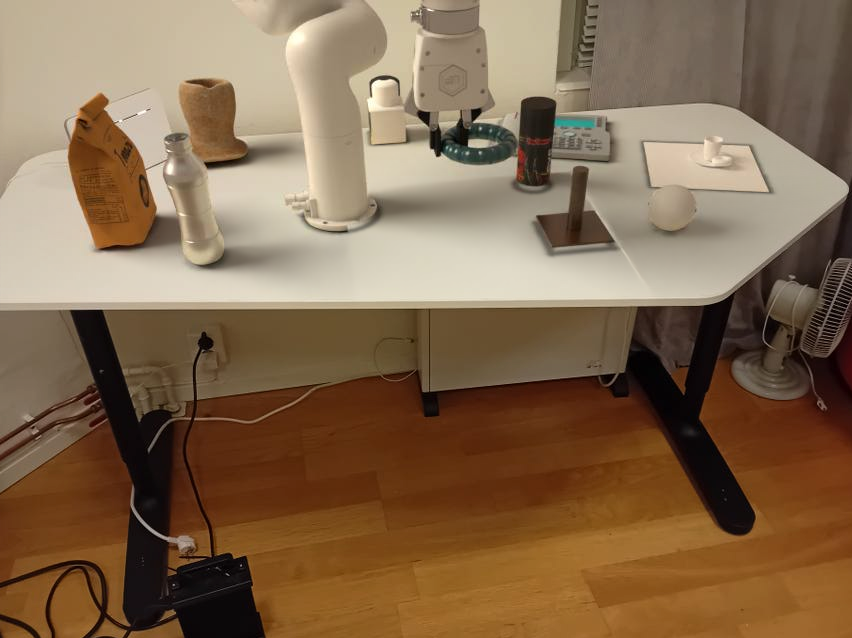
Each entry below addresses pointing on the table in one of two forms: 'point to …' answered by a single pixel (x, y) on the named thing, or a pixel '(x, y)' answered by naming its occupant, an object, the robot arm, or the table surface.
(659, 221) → the beige ovoid
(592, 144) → the office telephone
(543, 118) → the deodorant
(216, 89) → the tan upright hollow piece
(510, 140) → the ring
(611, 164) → the table surface
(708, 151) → the teacup and saucer
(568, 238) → the post
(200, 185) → the plastic bottle
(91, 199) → the coffee package
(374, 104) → the medicine bottle
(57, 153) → the table surface
